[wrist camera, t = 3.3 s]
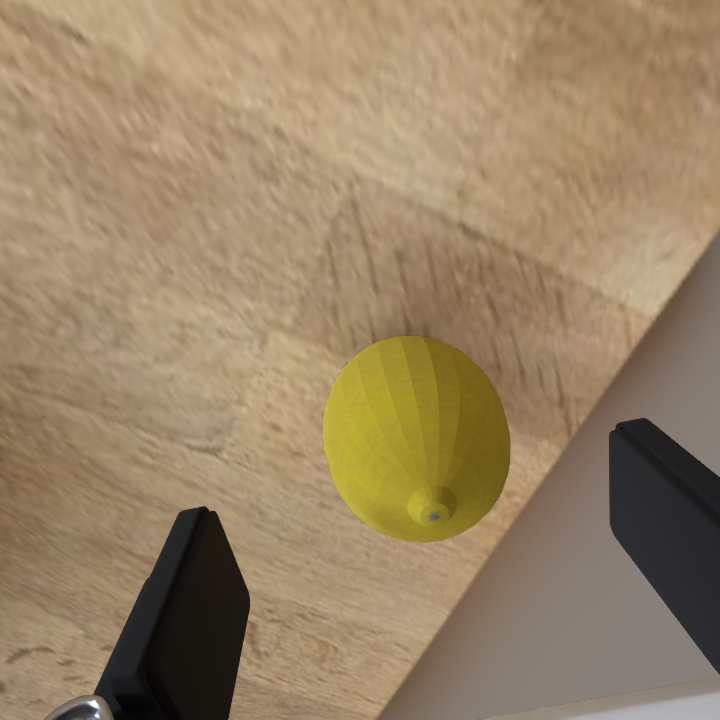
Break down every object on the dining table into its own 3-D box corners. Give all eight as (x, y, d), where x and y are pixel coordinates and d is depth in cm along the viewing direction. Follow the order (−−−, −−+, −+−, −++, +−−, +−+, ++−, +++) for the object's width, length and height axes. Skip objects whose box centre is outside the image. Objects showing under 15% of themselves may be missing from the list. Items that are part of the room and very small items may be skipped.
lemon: (369, 281, 17) (388, 369, 10) (497, 347, 18) (603, 472, 11) (303, 404, 19) (276, 559, 11) (423, 458, 20) (471, 631, 12)
